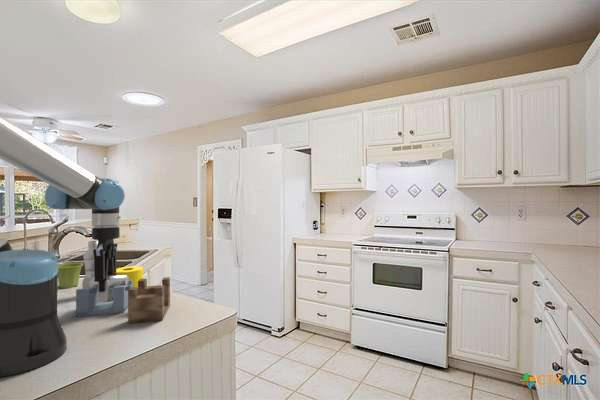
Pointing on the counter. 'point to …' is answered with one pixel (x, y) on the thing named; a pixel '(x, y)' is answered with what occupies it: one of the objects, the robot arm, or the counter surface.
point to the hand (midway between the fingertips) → (106, 298)
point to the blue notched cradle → (91, 306)
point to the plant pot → (69, 274)
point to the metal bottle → (90, 259)
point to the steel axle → (113, 280)
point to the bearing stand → (148, 301)
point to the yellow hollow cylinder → (131, 273)
